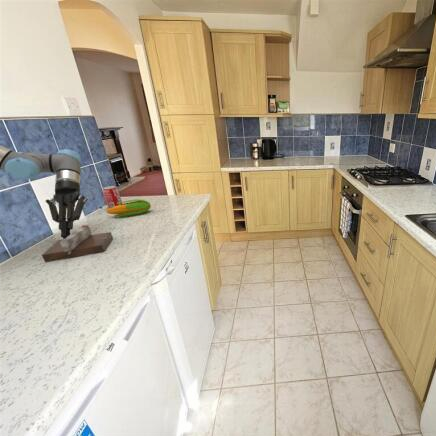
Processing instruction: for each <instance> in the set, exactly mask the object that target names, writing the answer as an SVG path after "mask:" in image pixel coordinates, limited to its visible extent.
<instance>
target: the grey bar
mask: <svg viewBox="0 0 436 436" xmlns="http://www.w3.org/2000/svg"><path fill="white" fill-rule="evenodd" d="M90 235H93V233H92V230H91V228H90V225H88V224H83V225H82V226H80V227H79V228H78V229H76V230H75V231H74V232H72V233H70V235H69V236H68V237H66V238H65V239H64V238H63V239H64V240H62V239H61V240H62V241H61V242H60V244H61V246H62V248H63V250H64V252H67V251H71V250H72V249H74V248H75V247H76V246H78V245H79V244H80V243H81V242H83V241H84V240H85V239H86V238H88V237H89V236H90Z"/></svg>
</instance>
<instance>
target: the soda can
mask: <svg viewBox="0 0 436 436" xmlns="http://www.w3.org/2000/svg"><path fill="white" fill-rule="evenodd" d="M102 195H103V197H104V201H105V203H106V206H107V208H108V209H110V208H112V207H115V206H118V205H121V204H123V203H120V202H123V201H122V198H121V194H120V191H119V189H118V188H117V187H116V185H108V186H105V187H104V186H103V188H102ZM117 203H119V204H117Z"/></svg>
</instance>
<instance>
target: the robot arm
mask: <svg viewBox="0 0 436 436" xmlns="http://www.w3.org/2000/svg"><path fill="white" fill-rule="evenodd" d="M81 162H82V161H81V155H80V154H79V153H78V152H77V151H76V150H73V149H72V150H71V149H68V148H67V149H66V148H64V149H59V150H58V151H57V152H56V154H54V153H53V154H52V153H51V154H50V153H40V152H39V153H38V152H29V151H14V150H12V149H10V148H7V147H5V146H3V145H2V144H1V145H0V171H4V172H5V173H6V174H7V175H8V176H10V177H11V178H13V179H15V180H19V181H27V180H30V179H34V178H36V177H37V176H38V175H40V174H41V173H52V174H55V179H54V181H55V183H54V195H53V197H52V198H50V199H46V200H45V203H46V204H47V205H48V208H49V212H50V215H51V219H52V221H53V222H55V223H57V224H58V230H59V231H60V238H62V239H65V238H66V237H68V236H69V235H71V230H73V229H74V222H76V221H79V220H80V218H81V215H82V213H83V209H84V207H85V204H86V203H87V202H88V198H87V197H86V196H85V195H81V168H82V167H81V166H82V163H81ZM57 203H58V207H57Z"/></svg>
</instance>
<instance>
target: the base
mask: <svg viewBox="0 0 436 436" xmlns="http://www.w3.org/2000/svg"><path fill="white" fill-rule="evenodd" d="M113 236H114V235H113V234H112V232H111V231H108V232H102V233H101V232H100V233H95V234H91V235H90V236H89V237H88V238H86V239H85V240H84V241H83V242H81V243H80V244H79V245H78V246H76V247H75V248H74V249H72V250H71V251H67V252H64V250H63V248H62V246H61V244H60V242H61V241H62V240H64V238H62V239H58V240H56V241H55V242H54V243H53V244H52V245H51V246H49V248H48V249H46V250H45V251H44V252H43V253H42V254H41V257H42V258H43V261H44V262H45V263H48V262H54V261H59V260H66V259H73V258H77V257H83V256H89V255H94V254H100V253H104V252H105V251H106V250H107V249H108V247H109V245H110V244H111V242H112V241H113V239H114V237H113Z"/></svg>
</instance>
